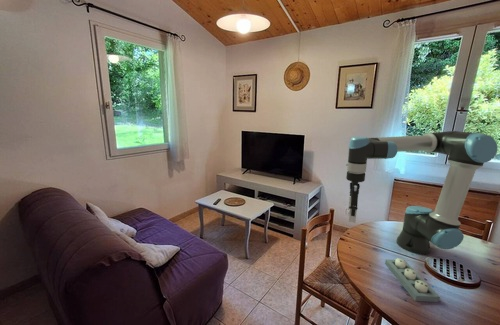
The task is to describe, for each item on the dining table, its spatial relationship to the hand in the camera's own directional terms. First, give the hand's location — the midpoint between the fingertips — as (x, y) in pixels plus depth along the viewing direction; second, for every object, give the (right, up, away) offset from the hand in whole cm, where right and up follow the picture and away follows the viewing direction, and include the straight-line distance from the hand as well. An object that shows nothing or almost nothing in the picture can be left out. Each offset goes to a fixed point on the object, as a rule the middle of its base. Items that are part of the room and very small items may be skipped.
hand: (351, 215), depth 104 cm
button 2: (+23, -26, -6) cm, 35 cm away
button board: (+23, -28, -6) cm, 36 cm away
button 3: (+22, -28, -13) cm, 38 cm away
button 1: (+23, -25, +1) cm, 34 cm away
